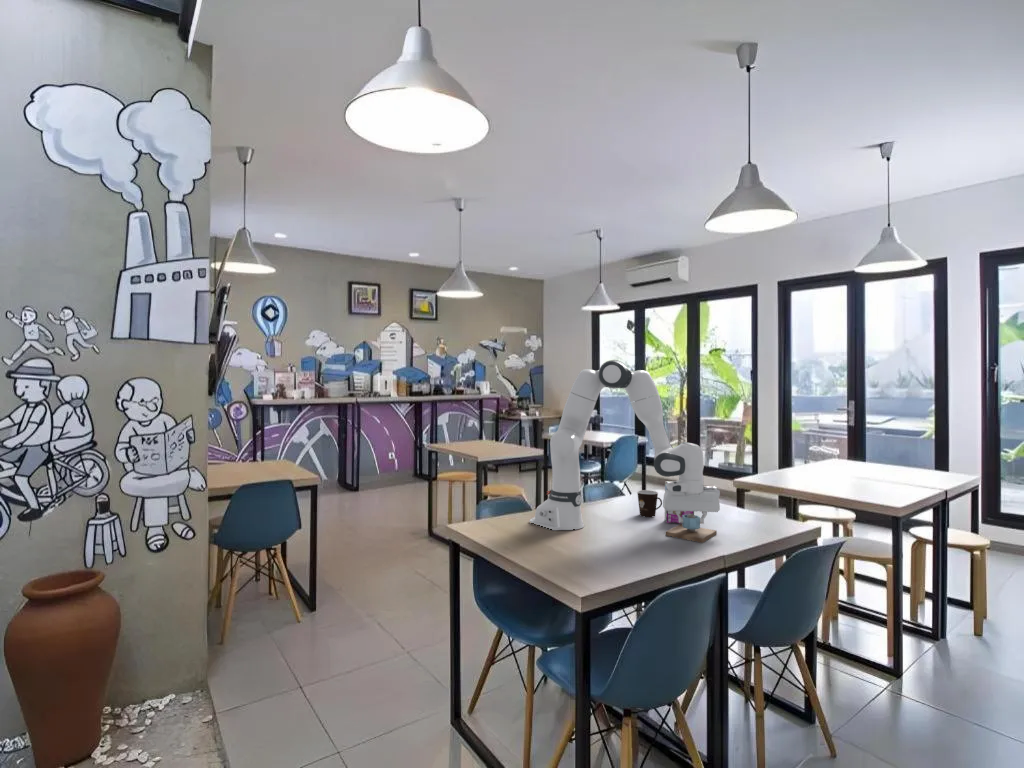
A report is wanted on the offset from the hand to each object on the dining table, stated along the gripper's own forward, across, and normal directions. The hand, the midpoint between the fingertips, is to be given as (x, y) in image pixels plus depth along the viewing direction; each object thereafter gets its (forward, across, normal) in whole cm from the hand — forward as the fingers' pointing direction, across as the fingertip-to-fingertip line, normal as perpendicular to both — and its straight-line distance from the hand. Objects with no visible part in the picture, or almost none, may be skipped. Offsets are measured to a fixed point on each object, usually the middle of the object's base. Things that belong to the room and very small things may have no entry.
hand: (690, 522), depth 201 cm
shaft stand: (+5, 0, 0) cm, 5 cm away
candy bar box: (+5, +1, -19) cm, 19 cm away
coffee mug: (+5, +12, -27) cm, 30 cm away
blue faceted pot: (+2, 0, 0) cm, 2 cm away
